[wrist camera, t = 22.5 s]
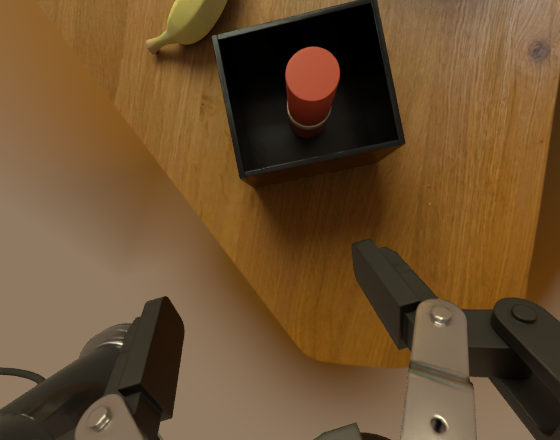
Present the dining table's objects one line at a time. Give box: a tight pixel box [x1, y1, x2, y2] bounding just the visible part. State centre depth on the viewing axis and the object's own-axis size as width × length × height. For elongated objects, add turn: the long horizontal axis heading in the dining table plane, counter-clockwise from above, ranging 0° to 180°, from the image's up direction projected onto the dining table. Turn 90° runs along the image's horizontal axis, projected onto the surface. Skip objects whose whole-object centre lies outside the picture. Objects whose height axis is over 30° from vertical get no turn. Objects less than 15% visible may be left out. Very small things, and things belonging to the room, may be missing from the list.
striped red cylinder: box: [285, 47, 340, 138], centre depth 31 cm, size 5×5×12 cm
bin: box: [212, 0, 405, 188], centre depth 33 cm, size 17×15×10 cm
